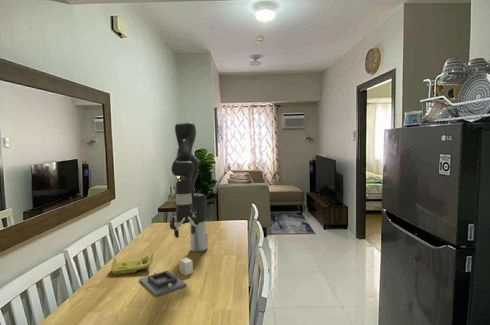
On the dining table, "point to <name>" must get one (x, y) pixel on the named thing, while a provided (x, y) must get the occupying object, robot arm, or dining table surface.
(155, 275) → the housing plate
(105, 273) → the dining table surface
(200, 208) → the robot arm
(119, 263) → the plastic component
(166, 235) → the dining table surface
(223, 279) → the dining table surface
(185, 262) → the block
